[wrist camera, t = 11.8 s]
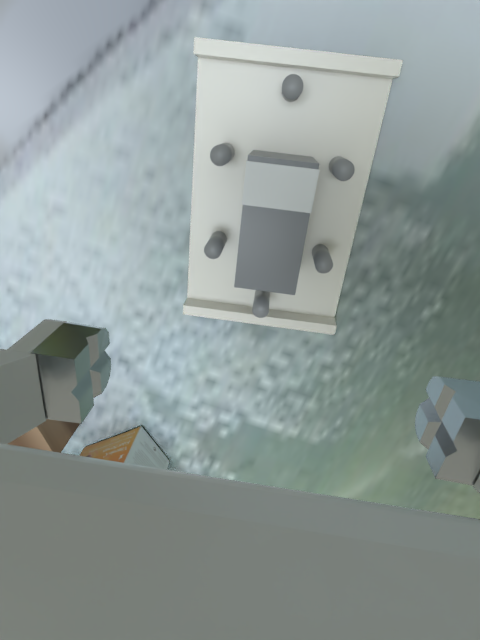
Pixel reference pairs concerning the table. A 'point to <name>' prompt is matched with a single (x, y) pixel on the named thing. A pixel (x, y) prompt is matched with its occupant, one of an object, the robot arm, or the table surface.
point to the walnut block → (47, 436)
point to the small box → (129, 450)
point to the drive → (274, 220)
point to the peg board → (290, 138)
